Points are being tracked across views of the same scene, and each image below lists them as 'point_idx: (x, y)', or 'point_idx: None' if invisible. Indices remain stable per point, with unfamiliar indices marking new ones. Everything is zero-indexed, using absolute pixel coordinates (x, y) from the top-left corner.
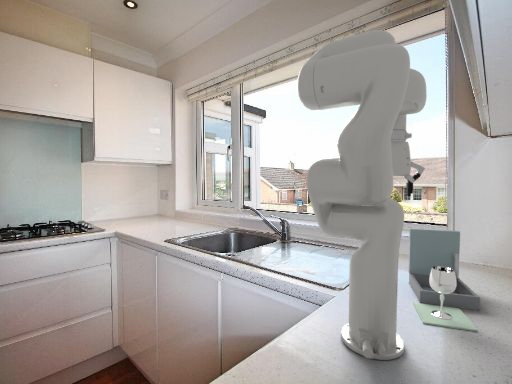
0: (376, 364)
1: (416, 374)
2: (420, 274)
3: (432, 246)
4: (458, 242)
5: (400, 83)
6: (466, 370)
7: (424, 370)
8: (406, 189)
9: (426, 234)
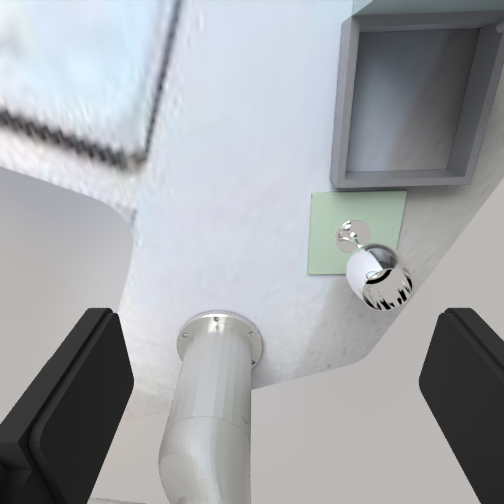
0: None
1: (267, 380)
2: (389, 17)
3: None
4: None
5: None
6: (325, 360)
7: (277, 372)
8: (475, 371)
9: None
